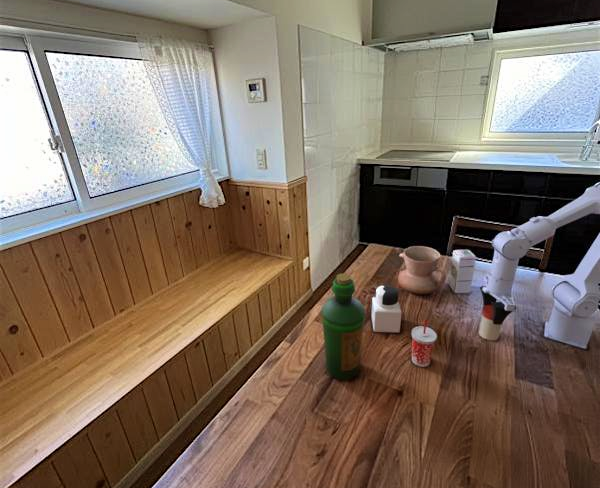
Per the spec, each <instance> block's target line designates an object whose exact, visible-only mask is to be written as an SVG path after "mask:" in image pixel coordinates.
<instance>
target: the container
mask: <svg viewBox="0 0 600 488" xmlns="http://www.w3.org/2000/svg"><path fill="white" fill-rule="evenodd" d="M399 293H400V291H399V290H398V288H397V287H395V286H393V285H390V284H383V285H380V286H378V287H377V288H376V289H375V296H373V297H372V298H371V323H372V330H373V332H374V333H398V334H399V333H400V331H401V323H402V312H403V311H402V309H401V305H400V302H399Z"/></svg>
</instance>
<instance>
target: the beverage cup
mask: <svg viewBox="0 0 600 488" xmlns="http://www.w3.org/2000/svg"><path fill="white" fill-rule="evenodd" d="M427 320H428V317H427V316H426V317H424V324H423V326H421V325H419V326H415V327H414V328H412V330H411V338H412V341H411V342H412V343H411V361H412V363H413V364H414V365H415V366H417V367H421V368H426V367H429V365H430V364H431V359H432V355H433V350H434V346H435V342H436V341H437V338H438V336H437V333H436V332H435V331H434V330H433V329H432V328H430V327H427V324H428V321H427Z"/></svg>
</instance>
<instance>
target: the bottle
mask: <svg viewBox="0 0 600 488" xmlns="http://www.w3.org/2000/svg"><path fill="white" fill-rule="evenodd" d="M335 277H336V278H335V279H334V280H333V282H332V285H331V292H332V294H334V295H333V296H330V297H328V299H327V300H326V301H325V302H324V304H323V306H322V307H321V319H322V328H323V339H324V350H325V363H326V369H327V372H328V374H330V376H332V378H335V379H338V380H342V381H345V380H351V379H353V378H355V377H356V376H357V375H358V373H359V370H360V368H361V367H360V365H361V356H362V349H363V339H364V331H365V330H364V329H365V321H366V308H365V306H364V304H363V303H362V302H361V300H359V299H358V298H356V297H355V296H353V295H354V294H355V292H356V288H355V282H354V281H353V279H352V277H351V275H350V274H348V273H339V274H338V273H337V275H336V276H335Z"/></svg>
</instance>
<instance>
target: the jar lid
mask: <svg viewBox="0 0 600 488" xmlns="http://www.w3.org/2000/svg"><path fill="white" fill-rule="evenodd" d="M482 315H483V316H484V317H485V318H487V319H489V320H492V321H493V307H492V305H485V306H482V308H481V316H482Z"/></svg>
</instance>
